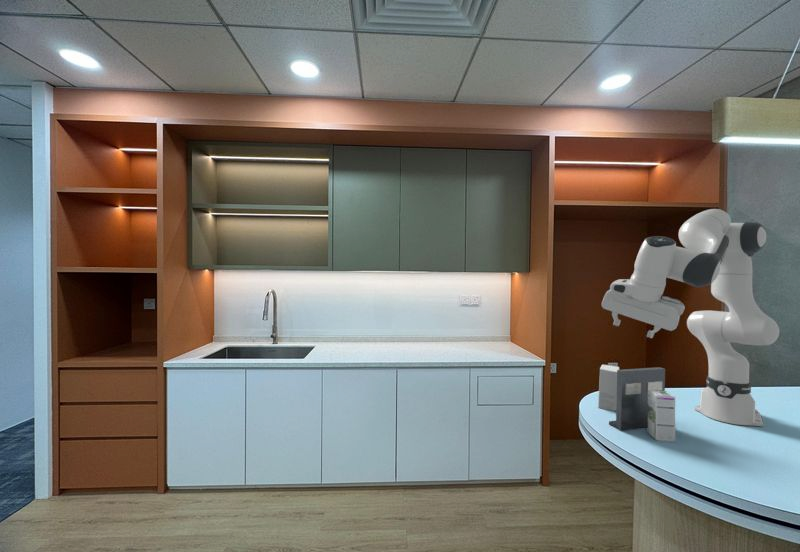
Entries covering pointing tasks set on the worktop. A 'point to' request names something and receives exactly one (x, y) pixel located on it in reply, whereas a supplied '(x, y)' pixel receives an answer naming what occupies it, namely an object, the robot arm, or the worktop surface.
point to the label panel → (635, 396)
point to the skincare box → (608, 387)
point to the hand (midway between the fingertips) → (632, 330)
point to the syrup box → (661, 415)
